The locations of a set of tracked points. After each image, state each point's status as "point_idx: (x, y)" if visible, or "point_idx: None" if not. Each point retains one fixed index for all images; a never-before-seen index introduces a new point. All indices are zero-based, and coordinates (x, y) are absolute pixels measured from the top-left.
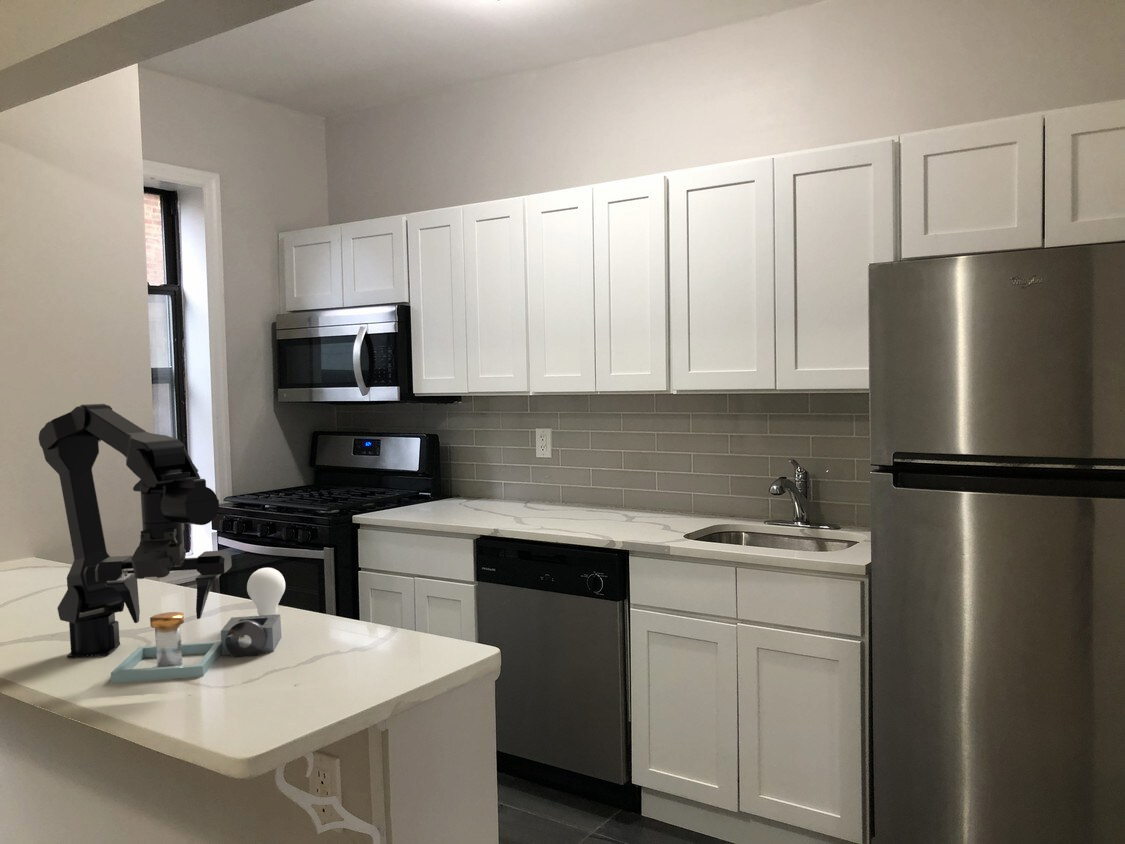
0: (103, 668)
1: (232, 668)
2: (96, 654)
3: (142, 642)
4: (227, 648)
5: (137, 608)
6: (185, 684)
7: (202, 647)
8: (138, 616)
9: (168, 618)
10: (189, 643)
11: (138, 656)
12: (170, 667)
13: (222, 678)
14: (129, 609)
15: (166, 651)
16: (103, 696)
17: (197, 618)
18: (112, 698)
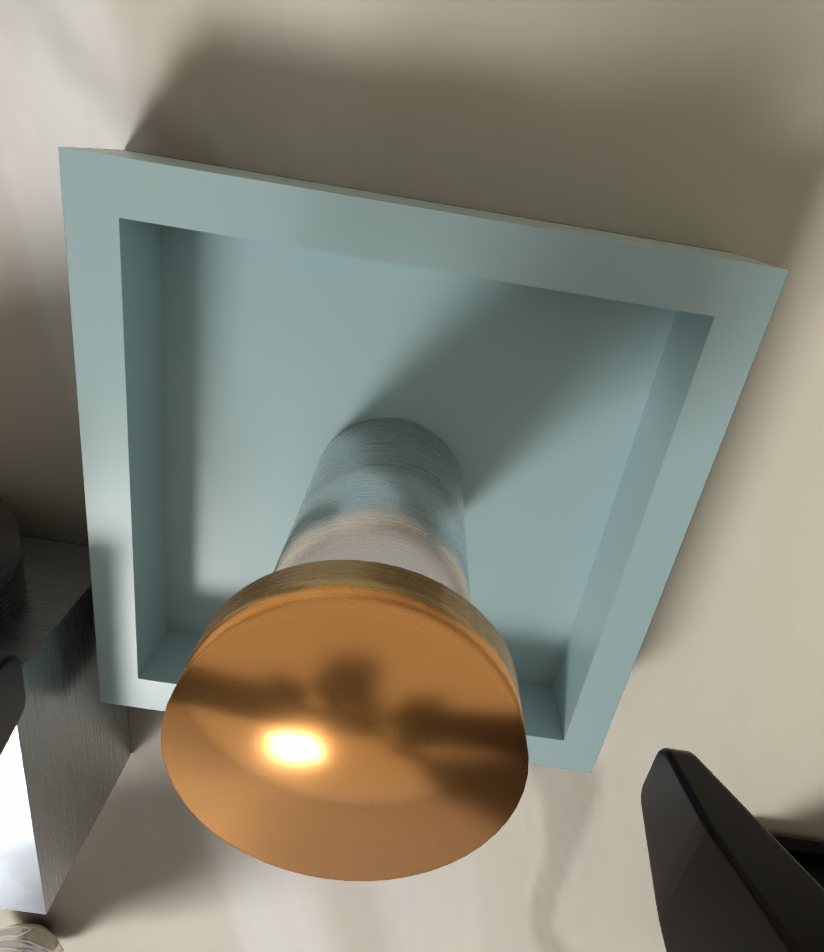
0: (756, 672)
1: (16, 399)
2: (784, 845)
3: (571, 938)
4: (11, 541)
5: (700, 938)
6: (247, 163)
7: None
8: (660, 835)
9: (307, 673)
10: None
11: (586, 648)
12: (328, 223)
13: (15, 203)
14: (821, 904)
15: (382, 475)
16: (795, 105)
17: (8, 652)
18: (737, 18)
